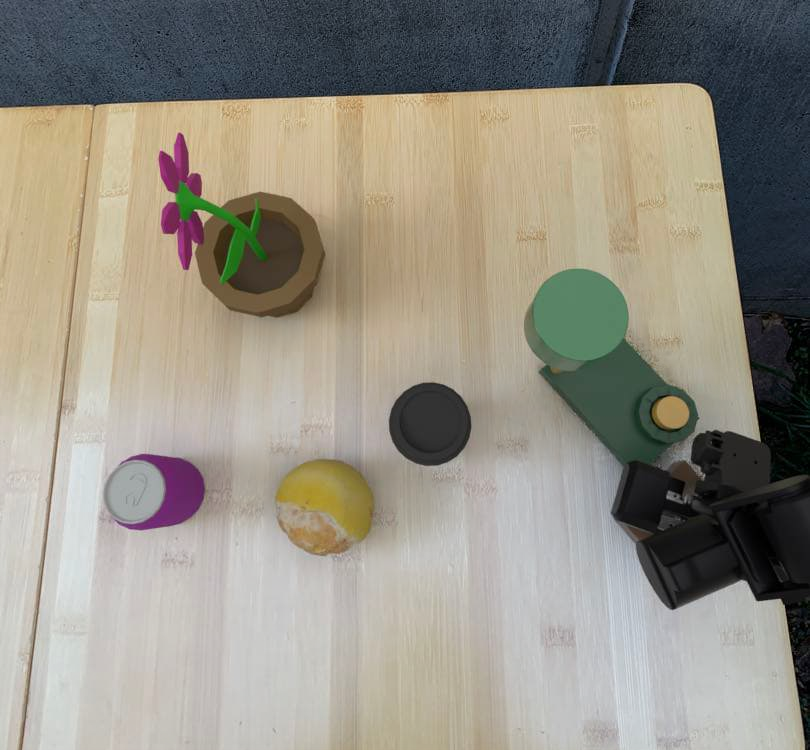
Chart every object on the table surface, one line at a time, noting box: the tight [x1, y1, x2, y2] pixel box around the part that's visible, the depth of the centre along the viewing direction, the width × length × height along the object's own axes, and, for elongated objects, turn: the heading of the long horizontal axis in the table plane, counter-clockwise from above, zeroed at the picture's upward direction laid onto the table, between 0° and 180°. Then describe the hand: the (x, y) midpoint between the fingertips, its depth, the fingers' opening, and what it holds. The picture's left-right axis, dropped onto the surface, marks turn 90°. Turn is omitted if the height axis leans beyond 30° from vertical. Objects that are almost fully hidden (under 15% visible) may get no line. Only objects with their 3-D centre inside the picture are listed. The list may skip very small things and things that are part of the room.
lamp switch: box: [652, 396, 689, 430], centre depth 76 cm, size 4×4×2 cm
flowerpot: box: [157, 132, 326, 318], centre depth 71 cm, size 14×14×30 cm
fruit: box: [274, 458, 376, 557], centre depth 74 cm, size 10×11×10 cm
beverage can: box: [102, 453, 206, 531], centre depth 74 cm, size 8×8×12 cm
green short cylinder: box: [523, 268, 630, 371], centre depth 59 cm, size 8×8×5 cm
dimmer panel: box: [615, 460, 703, 545], centre depth 76 cm, size 9×10×3 cm
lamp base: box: [538, 337, 700, 467], centre depth 79 cm, size 16×10×4 cm, turn 40°
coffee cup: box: [388, 381, 472, 467], centre depth 73 cm, size 8×8×15 cm
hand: (681, 518), depth 74 cm, fingers closed on dimmer knob, 4 cm apart
